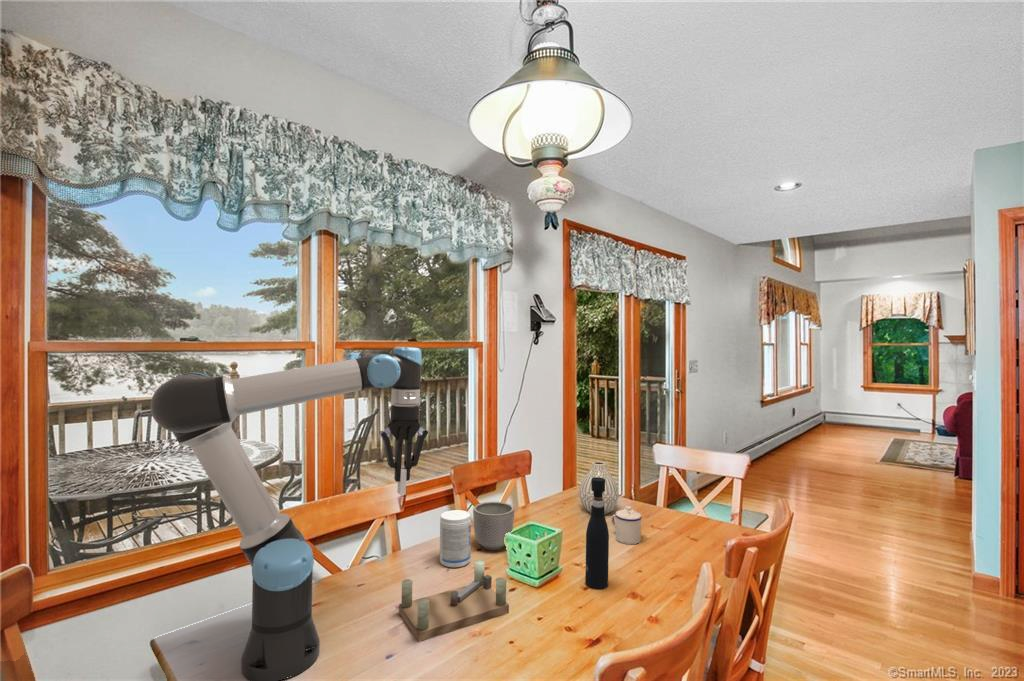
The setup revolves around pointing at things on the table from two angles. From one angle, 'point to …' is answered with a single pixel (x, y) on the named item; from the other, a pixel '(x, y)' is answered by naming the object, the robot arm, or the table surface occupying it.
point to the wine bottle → (597, 540)
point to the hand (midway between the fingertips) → (401, 493)
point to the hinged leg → (478, 580)
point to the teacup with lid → (627, 526)
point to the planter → (492, 523)
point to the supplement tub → (455, 538)
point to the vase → (608, 495)
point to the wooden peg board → (452, 608)
